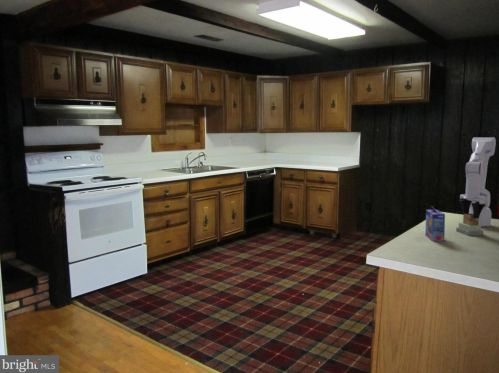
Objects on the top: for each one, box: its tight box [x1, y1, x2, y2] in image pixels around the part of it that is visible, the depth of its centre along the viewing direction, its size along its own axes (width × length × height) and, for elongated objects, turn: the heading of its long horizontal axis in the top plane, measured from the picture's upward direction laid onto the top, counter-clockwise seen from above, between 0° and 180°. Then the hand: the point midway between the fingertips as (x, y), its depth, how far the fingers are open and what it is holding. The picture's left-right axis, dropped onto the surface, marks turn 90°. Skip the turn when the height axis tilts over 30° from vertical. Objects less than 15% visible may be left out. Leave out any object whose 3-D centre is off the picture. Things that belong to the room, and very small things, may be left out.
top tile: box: [457, 222, 482, 231], centre depth 191 cm, size 6×6×2 cm
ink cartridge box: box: [425, 205, 446, 242], centre depth 182 cm, size 10×6×14 cm, turn 174°
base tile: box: [455, 227, 485, 237], centre depth 191 cm, size 8×8×2 cm
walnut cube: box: [462, 213, 479, 225], centre depth 190 cm, size 4×4×4 cm
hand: (470, 216), depth 190 cm, fingers open, 7 cm apart
